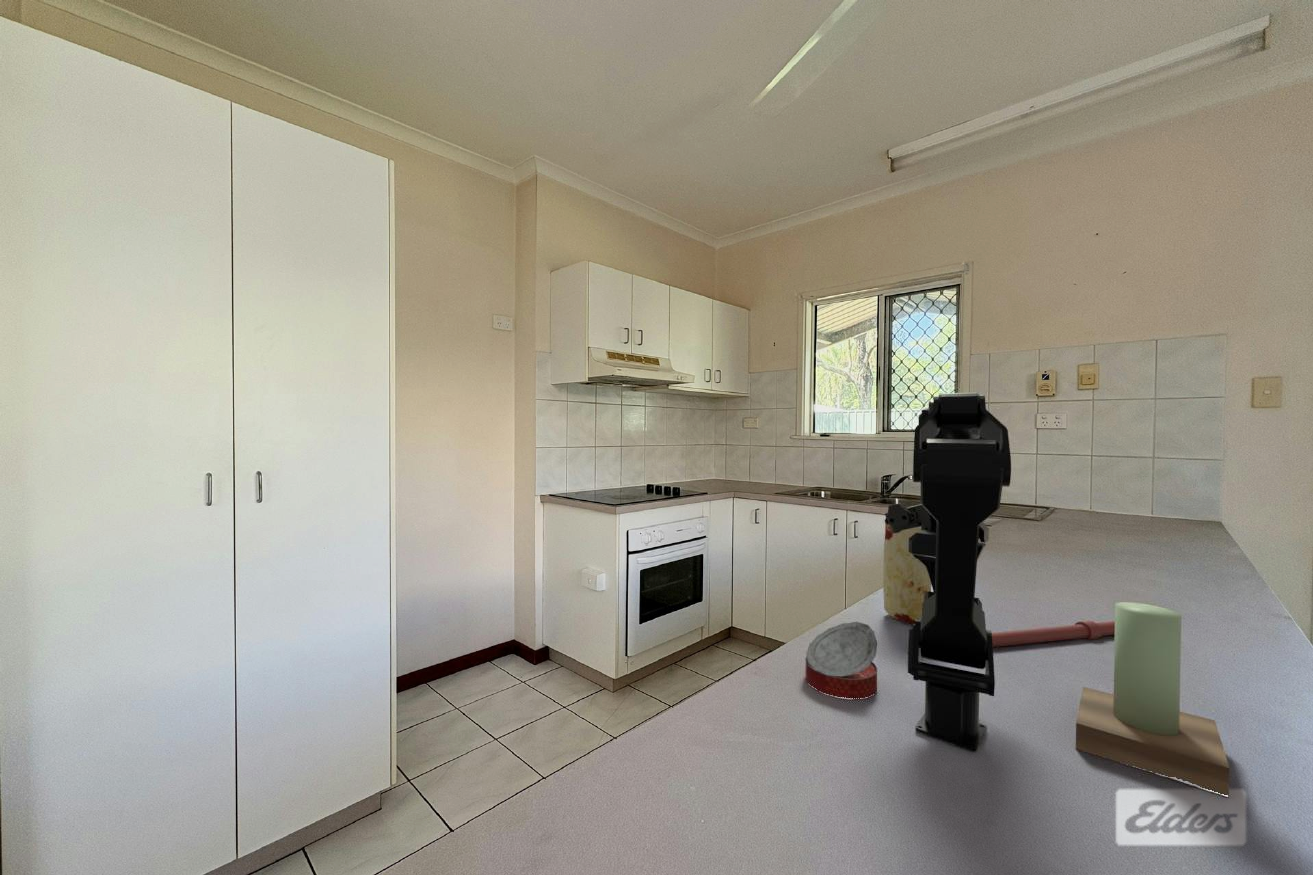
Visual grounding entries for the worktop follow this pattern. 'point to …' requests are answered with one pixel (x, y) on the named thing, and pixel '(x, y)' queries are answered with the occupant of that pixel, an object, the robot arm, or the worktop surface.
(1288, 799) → the worktop surface
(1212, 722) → the walnut base
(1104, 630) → the red collared rod
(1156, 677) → the green cylinder
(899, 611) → the food model
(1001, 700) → the worktop surface
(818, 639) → the canned food
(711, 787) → the worktop surface
